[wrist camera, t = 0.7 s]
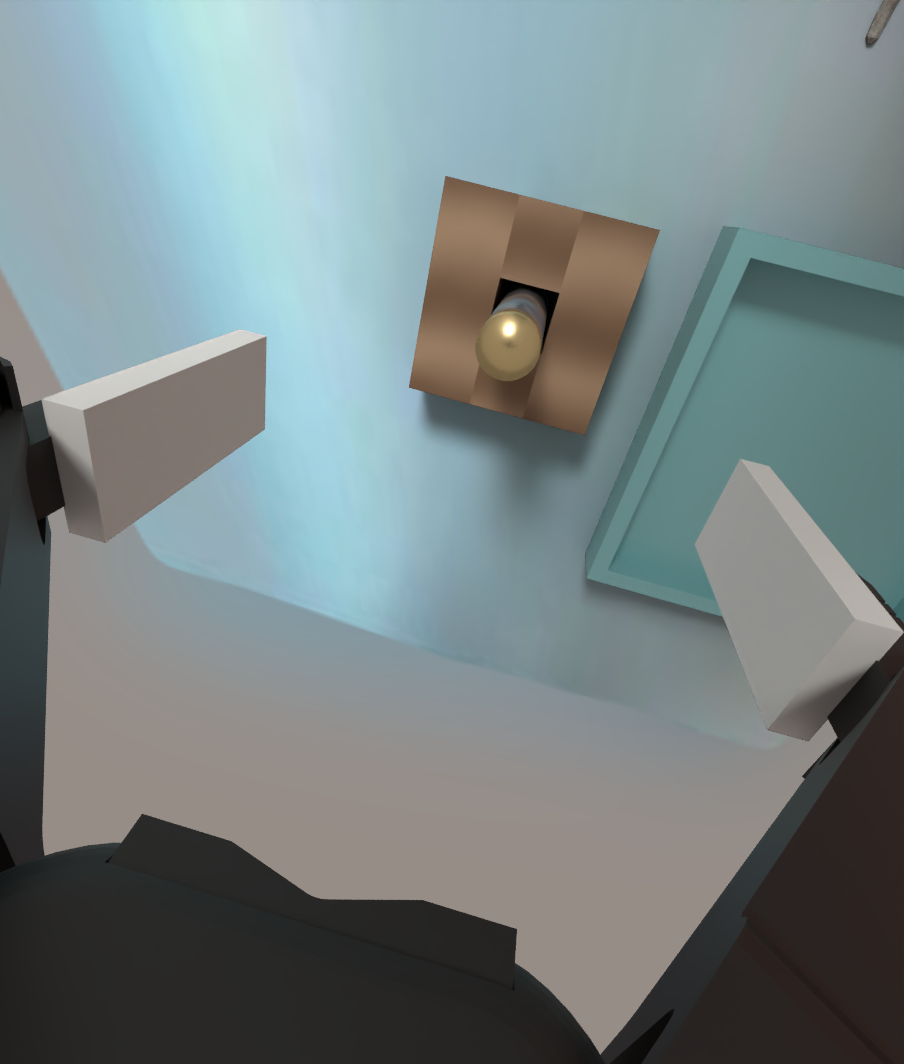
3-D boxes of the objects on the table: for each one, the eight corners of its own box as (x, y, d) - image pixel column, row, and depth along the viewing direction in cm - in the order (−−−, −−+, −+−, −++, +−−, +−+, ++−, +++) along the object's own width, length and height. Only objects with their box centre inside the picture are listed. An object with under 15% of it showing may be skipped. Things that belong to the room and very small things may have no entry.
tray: (723, 226, 32) (739, 227, 29) (1138, 330, 31) (1200, 342, 28) (585, 554, 44) (586, 578, 41) (876, 635, 43) (899, 666, 40)
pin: (509, 277, 35) (483, 305, 24) (554, 289, 35) (549, 323, 24) (498, 324, 37) (468, 371, 26) (540, 336, 37) (529, 388, 26)
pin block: (457, 179, 33) (445, 175, 30) (650, 228, 32) (659, 230, 29) (422, 372, 39) (408, 387, 36) (582, 415, 39) (584, 435, 35)
